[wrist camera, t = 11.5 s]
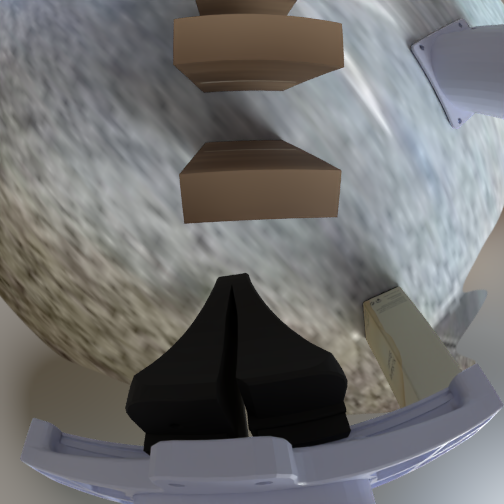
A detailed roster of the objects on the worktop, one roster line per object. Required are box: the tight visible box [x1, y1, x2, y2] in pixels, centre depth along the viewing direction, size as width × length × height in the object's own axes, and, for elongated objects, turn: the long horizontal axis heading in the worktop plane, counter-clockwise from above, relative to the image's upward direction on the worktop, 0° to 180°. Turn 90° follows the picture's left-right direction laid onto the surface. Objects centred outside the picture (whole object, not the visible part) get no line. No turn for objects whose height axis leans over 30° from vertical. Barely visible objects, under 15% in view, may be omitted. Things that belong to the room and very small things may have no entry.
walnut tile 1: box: [179, 140, 341, 224], centre depth 13 cm, size 2×5×10 cm, turn 91°
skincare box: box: [363, 287, 462, 408], centre depth 20 cm, size 6×4×12 cm
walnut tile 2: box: [173, 14, 344, 93], centre depth 10 cm, size 2×5×10 cm, turn 91°
